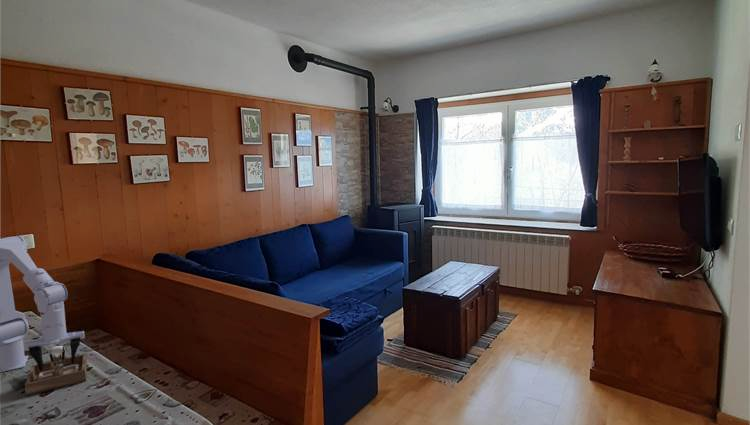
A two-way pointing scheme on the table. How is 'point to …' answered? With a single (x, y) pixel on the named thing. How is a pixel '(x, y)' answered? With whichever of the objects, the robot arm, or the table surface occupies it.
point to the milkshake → (58, 360)
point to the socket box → (46, 381)
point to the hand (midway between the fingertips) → (57, 365)
